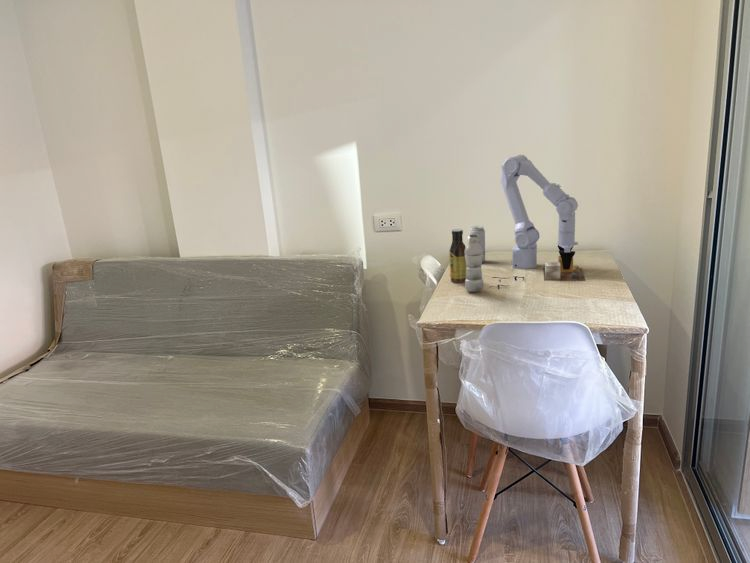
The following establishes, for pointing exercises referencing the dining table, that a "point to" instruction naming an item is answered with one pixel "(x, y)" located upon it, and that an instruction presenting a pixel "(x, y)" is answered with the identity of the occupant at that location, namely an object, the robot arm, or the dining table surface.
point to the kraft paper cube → (562, 265)
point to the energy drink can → (481, 235)
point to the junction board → (561, 273)
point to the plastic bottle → (473, 264)
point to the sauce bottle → (457, 257)
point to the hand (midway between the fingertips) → (565, 266)
